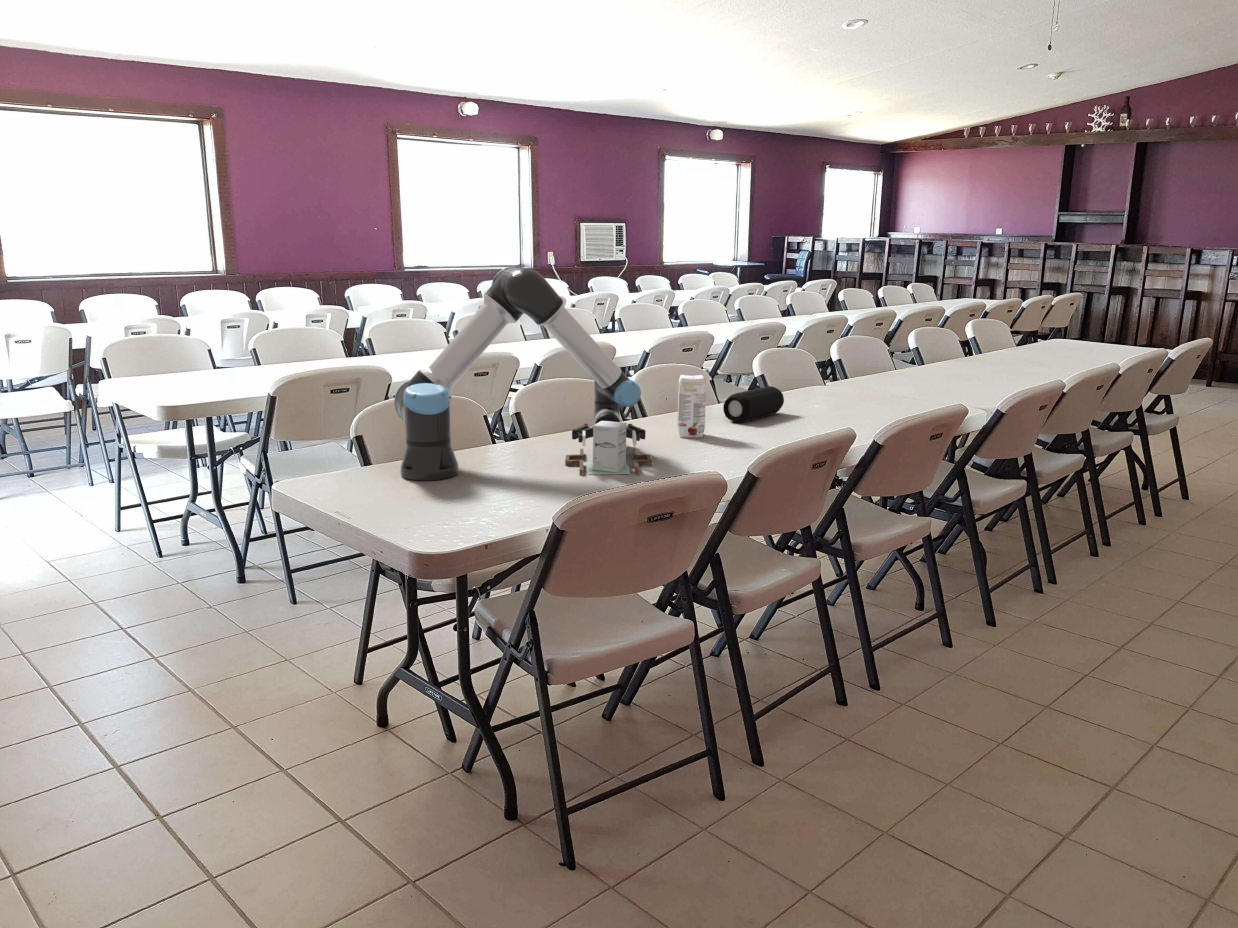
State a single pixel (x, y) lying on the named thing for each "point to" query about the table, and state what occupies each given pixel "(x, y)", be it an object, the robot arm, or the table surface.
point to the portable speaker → (753, 404)
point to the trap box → (638, 458)
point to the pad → (597, 472)
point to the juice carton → (691, 406)
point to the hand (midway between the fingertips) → (609, 441)
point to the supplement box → (609, 446)
